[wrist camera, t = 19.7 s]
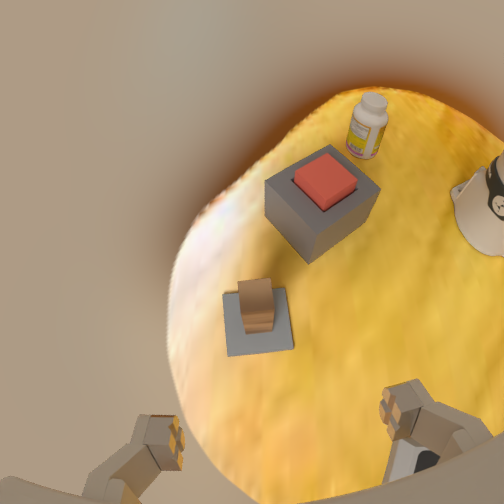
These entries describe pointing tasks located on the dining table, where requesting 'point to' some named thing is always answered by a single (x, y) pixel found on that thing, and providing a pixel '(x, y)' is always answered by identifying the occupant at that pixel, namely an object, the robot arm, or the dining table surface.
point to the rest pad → (257, 342)
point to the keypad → (408, 459)
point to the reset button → (325, 181)
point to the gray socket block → (316, 208)
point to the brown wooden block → (256, 305)
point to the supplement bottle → (367, 126)
